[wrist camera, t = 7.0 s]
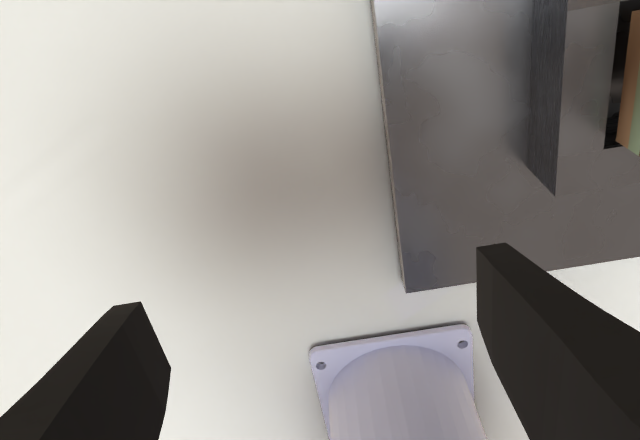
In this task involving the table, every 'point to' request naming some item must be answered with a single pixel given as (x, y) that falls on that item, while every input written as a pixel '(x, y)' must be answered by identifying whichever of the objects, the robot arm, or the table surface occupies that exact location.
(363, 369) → the robot arm
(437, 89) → the dark grey stepped base
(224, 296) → the table surface
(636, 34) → the walnut post
